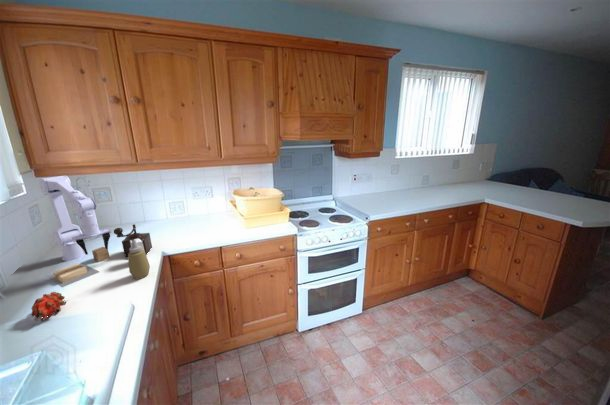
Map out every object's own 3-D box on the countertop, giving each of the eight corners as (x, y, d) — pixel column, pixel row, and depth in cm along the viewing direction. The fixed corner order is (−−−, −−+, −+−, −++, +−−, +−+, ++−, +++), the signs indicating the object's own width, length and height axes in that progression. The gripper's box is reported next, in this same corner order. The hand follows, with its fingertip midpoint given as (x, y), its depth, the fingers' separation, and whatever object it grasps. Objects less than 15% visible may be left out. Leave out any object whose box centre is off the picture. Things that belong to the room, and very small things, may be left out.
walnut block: (94, 261, 135) (91, 250, 133) (105, 256, 139) (102, 246, 137) (99, 263, 132) (96, 252, 131) (110, 259, 136) (107, 248, 135)
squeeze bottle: (138, 271, 124) (130, 236, 119) (155, 271, 124) (148, 236, 119) (126, 280, 116) (118, 243, 111) (144, 280, 116) (136, 243, 111)
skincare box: (147, 262, 132) (143, 240, 128) (137, 266, 129) (132, 243, 125) (143, 258, 136) (139, 237, 132) (134, 262, 133) (129, 240, 129)
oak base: (54, 277, 118) (53, 272, 118) (78, 268, 126) (77, 263, 125) (63, 283, 114) (61, 277, 113) (87, 273, 122) (86, 267, 121)
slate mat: (46, 277, 120) (45, 276, 120) (82, 264, 132) (82, 262, 131) (62, 288, 111) (62, 287, 111) (100, 273, 123) (99, 271, 123)
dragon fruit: (65, 305, 103) (47, 331, 92) (38, 299, 99) (17, 325, 88) (74, 290, 101) (57, 313, 91) (48, 283, 97) (27, 307, 87)
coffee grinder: (131, 249, 147) (125, 219, 142) (152, 247, 149) (147, 217, 144) (118, 262, 132) (110, 230, 127) (142, 260, 135) (135, 228, 130)
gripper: (70, 231, 112) (78, 259, 116) (110, 222, 122) (117, 248, 126) (68, 227, 116) (75, 254, 120) (107, 218, 127) (113, 244, 131)
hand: (96, 251), depth 123 cm, fingers open, 7 cm apart
